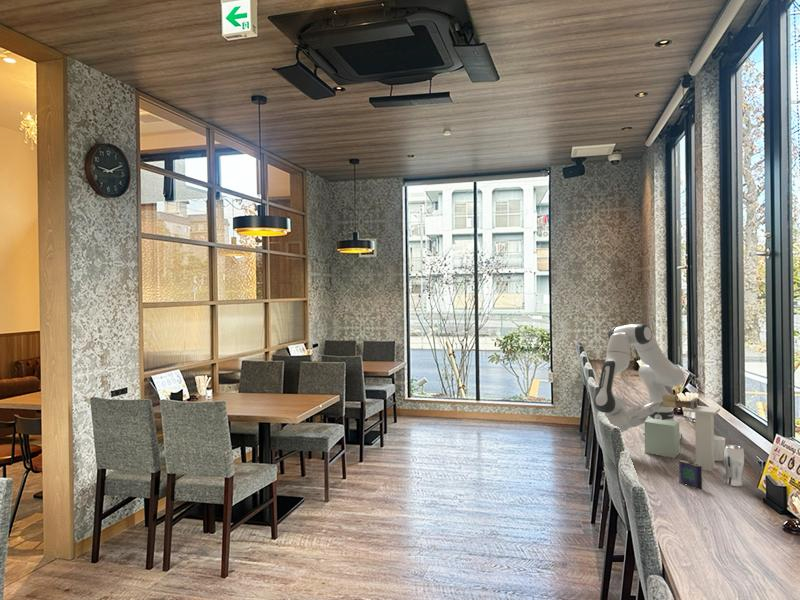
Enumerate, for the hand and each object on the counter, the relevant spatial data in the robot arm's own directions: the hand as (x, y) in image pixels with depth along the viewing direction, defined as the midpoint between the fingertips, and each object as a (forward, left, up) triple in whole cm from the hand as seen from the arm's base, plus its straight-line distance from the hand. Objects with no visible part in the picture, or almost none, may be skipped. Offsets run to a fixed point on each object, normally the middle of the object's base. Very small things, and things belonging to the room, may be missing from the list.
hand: (663, 404), depth 241 cm
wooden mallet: (0, +7, 0) cm, 7 cm away
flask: (+28, +17, -26) cm, 42 cm away
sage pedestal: (-13, -4, -26) cm, 29 cm away
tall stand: (0, +16, -26) cm, 30 cm away
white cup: (-18, +18, -26) cm, 36 cm away
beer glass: (+16, +30, -26) cm, 43 cm away
